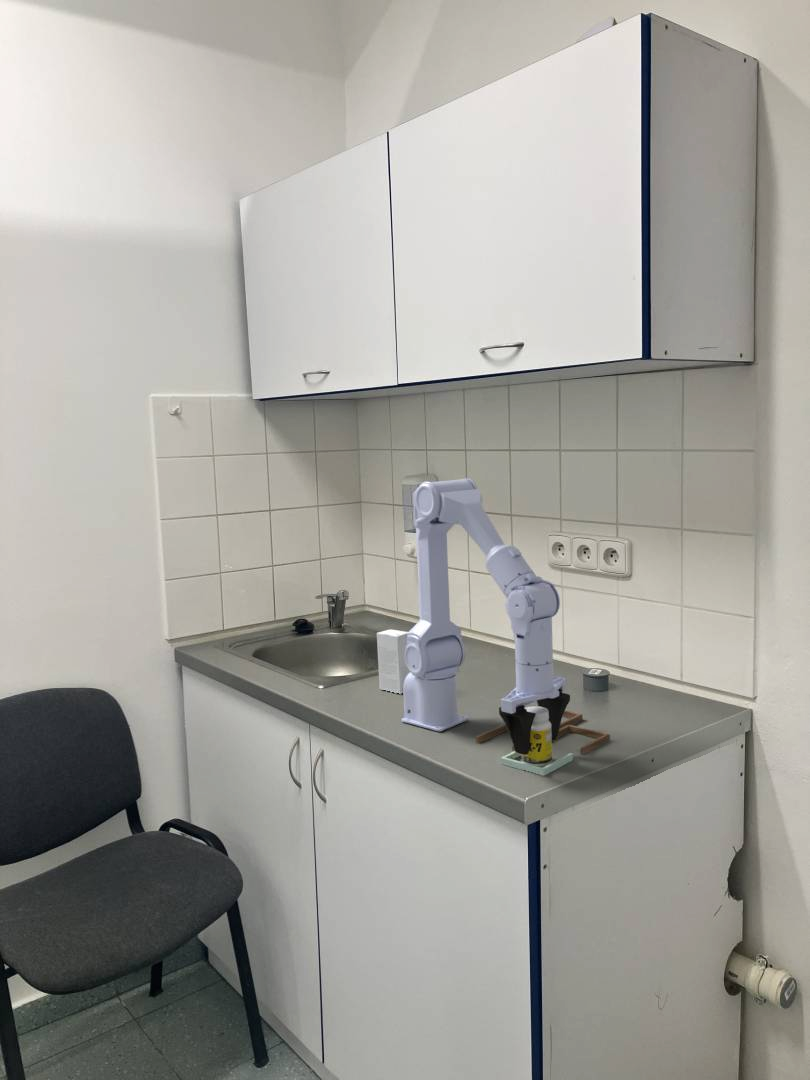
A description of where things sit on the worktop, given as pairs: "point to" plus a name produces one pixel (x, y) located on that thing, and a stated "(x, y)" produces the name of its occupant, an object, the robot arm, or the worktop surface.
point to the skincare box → (392, 660)
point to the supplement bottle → (539, 739)
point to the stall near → (492, 734)
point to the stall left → (573, 718)
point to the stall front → (600, 735)
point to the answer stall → (543, 771)
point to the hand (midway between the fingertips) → (536, 745)
